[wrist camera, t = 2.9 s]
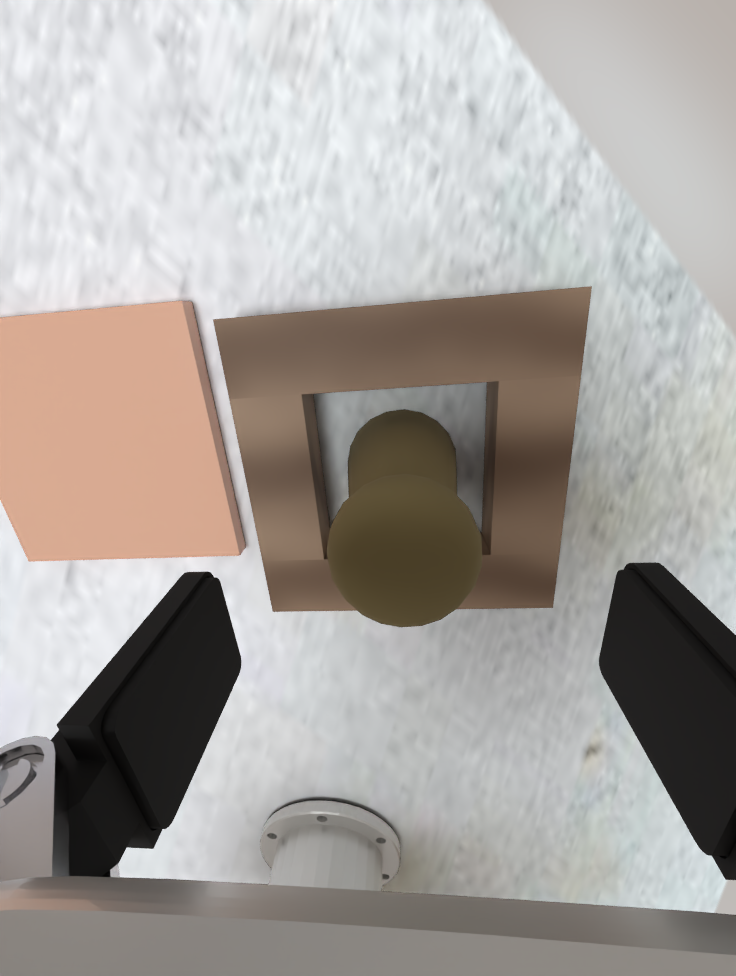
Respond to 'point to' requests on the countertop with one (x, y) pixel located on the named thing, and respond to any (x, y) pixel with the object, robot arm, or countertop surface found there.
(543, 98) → the countertop surface
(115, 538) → the terracotta tile
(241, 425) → the frame
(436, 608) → the olive tall flared piece
